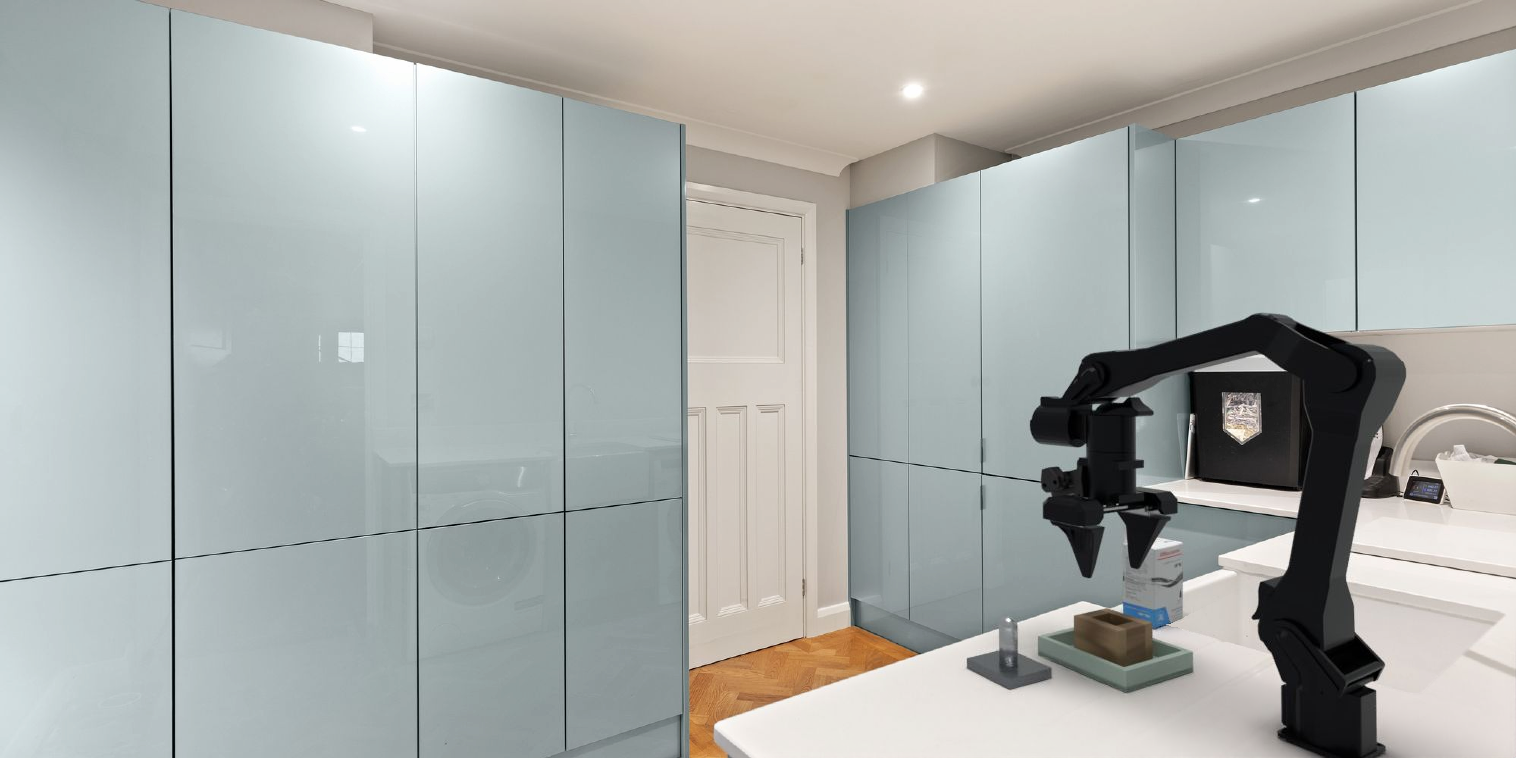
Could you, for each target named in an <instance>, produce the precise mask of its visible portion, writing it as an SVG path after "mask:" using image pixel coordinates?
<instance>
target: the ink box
mask: <svg viewBox="0 0 1516 758" xmlns="http://www.w3.org/2000/svg"><path fill="white" fill-rule="evenodd" d="M1122 533H1123V536H1122V537H1123V539H1122V541H1123V543H1122V613H1124V614H1127V615H1130V616H1133V617H1136V618H1139V619H1142V620H1145V621H1148V622H1152V627H1153V630H1154V629H1157V628H1160V627H1159V626H1161V627H1163V626H1166V625H1169V624H1171V623H1175V622H1179V621H1181V620H1183V618H1184V613H1183V612H1184V611H1183V610H1184V605H1183V604H1184V576H1183V575H1184V542H1182V541H1178V540H1174V539H1173V540H1172V539H1168V538H1162V537H1157V539H1156V540H1155V542H1154V544H1153V545H1152V547H1151V549H1150V551H1149V552H1148V554H1147V556H1146V558H1145V560H1144V561H1143V563H1142V565H1141V567H1140V568H1139V569H1134V568H1131V567H1130V562H1129V556H1128V545H1127V533H1126V525H1125V523H1124V524H1123V532H1122Z"/></svg>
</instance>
